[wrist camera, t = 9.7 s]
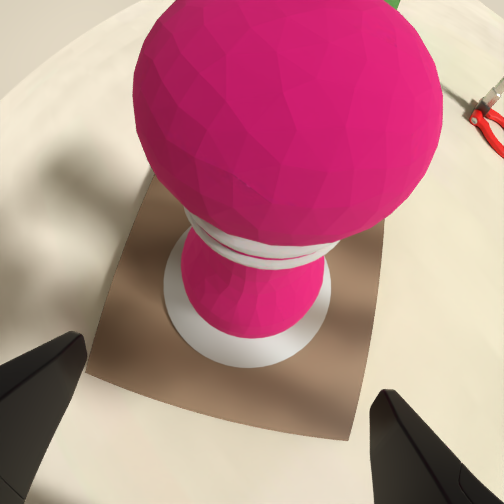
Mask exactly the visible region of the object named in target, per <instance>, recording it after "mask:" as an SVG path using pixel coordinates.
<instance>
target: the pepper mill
mask: <svg viewBox="0 0 504 504" xmlns="http://www.w3.org/2000/svg"><path fill="white" fill-rule="evenodd" d="M132 96H133V106H134V115H135V123H136V131H137V134H138V137H139V139H140V142H141V144H142V147H143V150H144V152H145V155H146V157H147V160H148V162H149V164H150V166H151V168H152V169H153V171H154V173H155V175H156V177H157V179H158V180H159V181H160V182H161V183H162V184H163V185H164V186H165V187H166V188H167V189H168V190H169V191H170V192H171V193H172V194H173V195H174V197H175V198H176V199H177V200H178V201H179V202H180V203H181V204H182V205H183V207H184V210H185V213H186V215H187V218H188V220H189V222H190V223H191V225H192V227H191V229H190V231H189V233H188V235H187V238H186V240H185V243H184V247H183V251H182V255H181V273H182V280H183V284H184V288H185V292H186V294H187V296H188V299H189V301H190V303H191V304H192V306H193V307H194V309H195V310H196V312H197V313H198V315H200V316H201V317H202V318H203V319H204V320H205V321H206V322H207V323H208V324H209V325H211V326H213V327H214V328H216V329H217V330H219V331H221V332H224V333H226V334H228V335H231V336H235V337H239V338H248V339H256V338H265V337H270V336H274V335H276V334H279V333H281V332H284V331H286V330H287V329H289V328H290V327H292V326H294V325H295V324H296V323H297V322H298V321H299V320H301V319H302V318H303V317H304V315H305V314H306V313H307V312H308V310H309V309H310V308H311V306H312V305H313V303H314V302H315V300H316V298H317V296H318V295H319V292H320V289H321V286H322V283H323V275H324V264H325V261H324V255H325V254H327V253H328V252H329V251H330V250H331V249H333V248H334V247H335V246H336V245H337V243H338V242H339V241H340V240H341V239H344V238H347V237H349V236H352V235H354V234H357V233H360V232H362V231H365V230H367V229H370V228H372V227H373V226H374V225H376V224H377V223H379V222H380V221H382V220H383V219H384V218H386V217H387V216H389V215H390V214H391V213H392V212H393V211H394V210H395V209H396V208H397V207H399V206H400V205H401V204H402V203H403V202H404V201H405V200H406V199H407V198H408V197H409V195H410V194H411V193H412V191H413V190H414V189H415V187H416V186H417V185H418V183H419V182H420V180H421V179H422V178H423V176H424V175H425V173H426V171H427V169H428V167H429V165H430V162H431V160H432V158H433V155H434V153H435V151H436V148H437V146H438V142H439V137H440V133H441V128H442V119H443V95H442V90H441V86H440V82H439V77H438V73H437V70H436V66H435V63H434V61H433V59H432V57H431V55H430V54H429V52H428V50H427V48H426V46H425V45H424V43H423V41H422V39H421V38H420V36H419V34H418V33H417V31H416V30H415V28H414V27H413V26H412V25H411V24H410V23H409V22H408V21H407V20H406V19H405V18H404V17H403V16H402V15H401V14H400V13H399V12H398V11H397V10H396V9H394V8H393V7H392V6H391V5H389V4H388V3H387V2H385V1H384V0H176V1H175V2H174V3H173V4H172V5H171V6H170V7H169V8H168V9H167V10H166V11H165V12H164V13H163V14H162V15H161V16H160V17H159V18H158V20H157V21H156V22H155V24H154V26H153V27H152V29H151V30H150V32H149V34H148V35H147V37H146V39H145V40H144V43H143V46H142V48H141V51H140V54H139V58H138V61H137V64H136V67H135V71H134V78H133V95H132Z"/></svg>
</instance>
